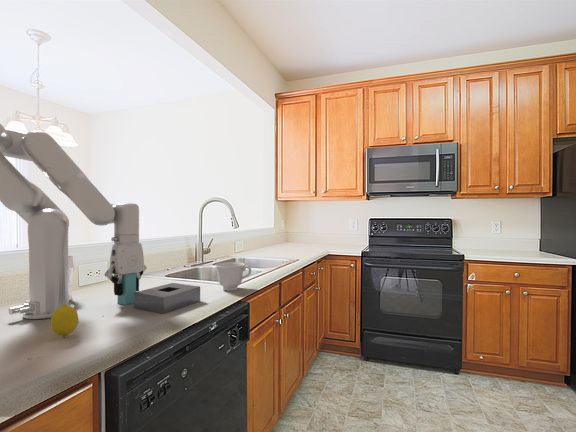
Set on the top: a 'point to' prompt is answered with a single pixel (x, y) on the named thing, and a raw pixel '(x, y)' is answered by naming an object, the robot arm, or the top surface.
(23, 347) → the top surface
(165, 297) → the socket block
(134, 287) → the square peg
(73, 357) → the top surface
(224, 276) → the teacup
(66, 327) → the lemon
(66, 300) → the robot arm
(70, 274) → the beer glass
